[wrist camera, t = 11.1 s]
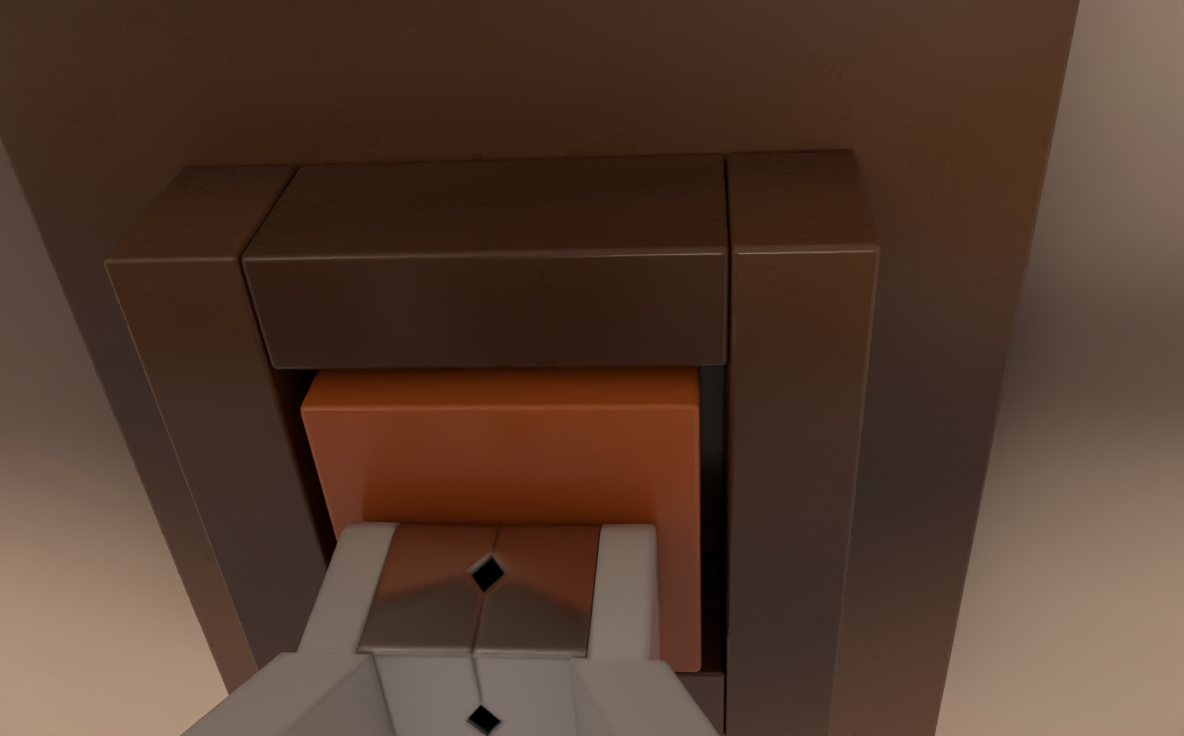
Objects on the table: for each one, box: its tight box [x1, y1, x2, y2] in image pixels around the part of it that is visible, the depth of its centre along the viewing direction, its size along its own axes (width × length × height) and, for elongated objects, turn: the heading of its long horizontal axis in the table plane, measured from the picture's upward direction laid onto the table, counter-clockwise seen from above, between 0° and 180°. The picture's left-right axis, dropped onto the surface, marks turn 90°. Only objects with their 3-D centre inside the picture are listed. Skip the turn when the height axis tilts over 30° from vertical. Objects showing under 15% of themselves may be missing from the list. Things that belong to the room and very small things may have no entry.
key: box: [300, 367, 702, 672], centre depth 11 cm, size 4×4×2 cm
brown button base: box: [0, 0, 1080, 736], centre depth 12 cm, size 12×10×3 cm
